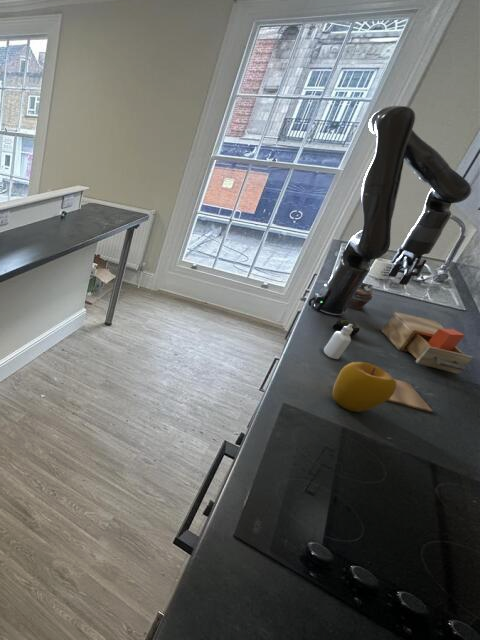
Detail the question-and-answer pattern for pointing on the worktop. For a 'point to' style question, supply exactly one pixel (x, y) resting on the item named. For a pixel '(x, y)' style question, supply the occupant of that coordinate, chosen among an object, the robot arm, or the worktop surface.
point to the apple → (362, 387)
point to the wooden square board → (408, 396)
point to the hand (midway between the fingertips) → (396, 280)
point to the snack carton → (446, 339)
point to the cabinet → (408, 329)
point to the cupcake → (361, 296)
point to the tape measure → (342, 323)
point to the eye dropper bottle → (338, 342)
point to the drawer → (437, 355)
